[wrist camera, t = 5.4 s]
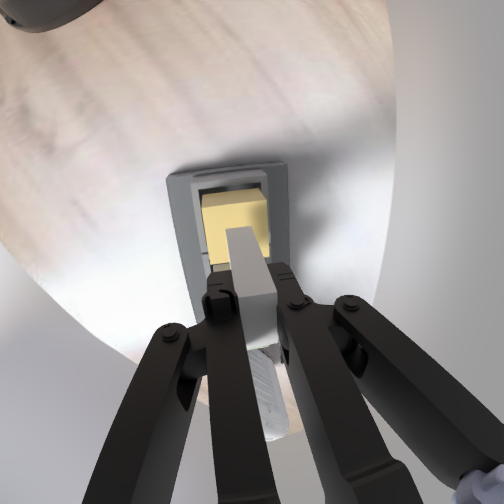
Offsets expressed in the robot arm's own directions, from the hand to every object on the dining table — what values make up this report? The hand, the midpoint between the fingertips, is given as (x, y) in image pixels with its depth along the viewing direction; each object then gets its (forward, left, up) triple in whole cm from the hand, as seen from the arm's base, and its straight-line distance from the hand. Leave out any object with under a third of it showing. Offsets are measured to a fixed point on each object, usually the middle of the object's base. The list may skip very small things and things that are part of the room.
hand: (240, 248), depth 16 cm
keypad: (+6, 0, -9) cm, 11 cm away
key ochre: (0, 0, -5) cm, 5 cm away
